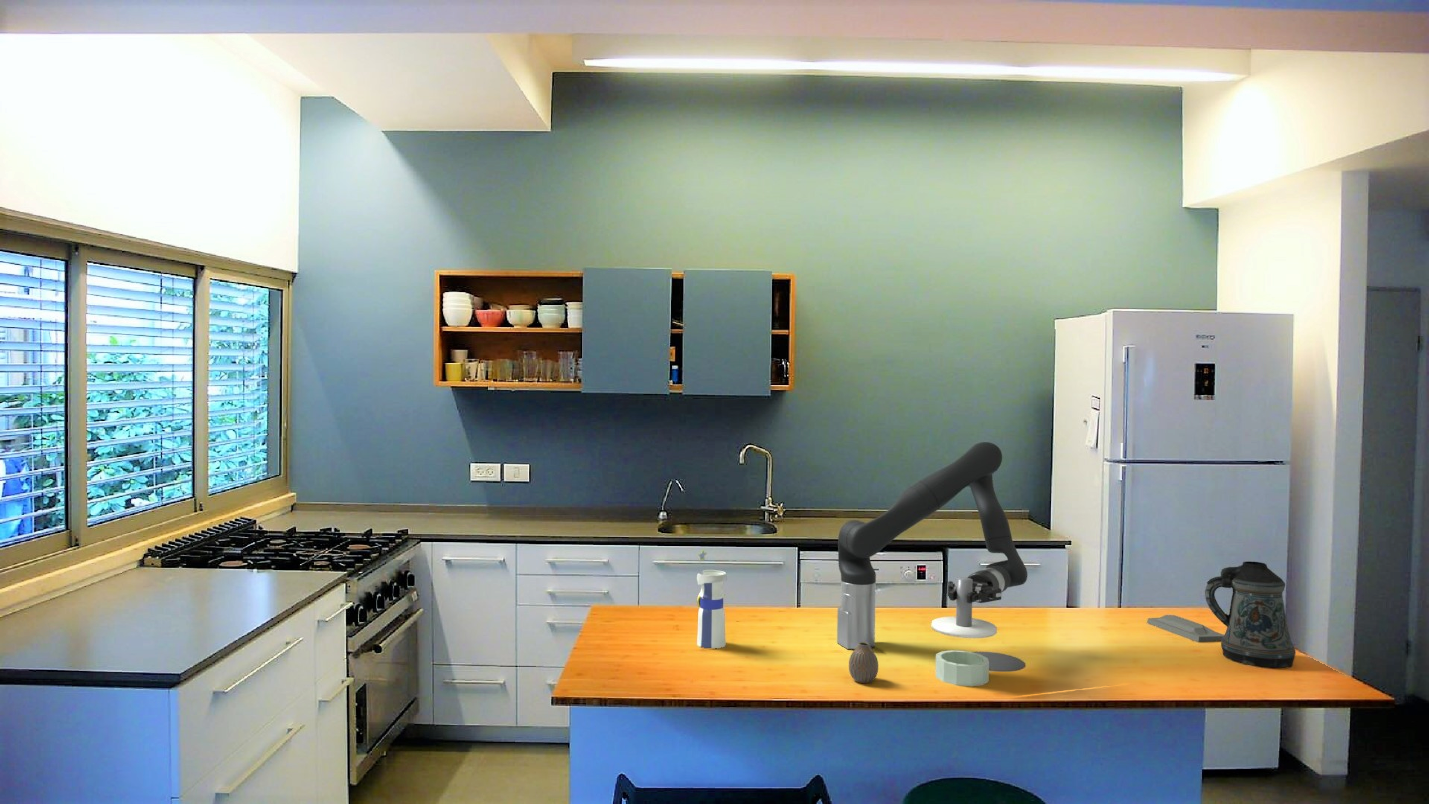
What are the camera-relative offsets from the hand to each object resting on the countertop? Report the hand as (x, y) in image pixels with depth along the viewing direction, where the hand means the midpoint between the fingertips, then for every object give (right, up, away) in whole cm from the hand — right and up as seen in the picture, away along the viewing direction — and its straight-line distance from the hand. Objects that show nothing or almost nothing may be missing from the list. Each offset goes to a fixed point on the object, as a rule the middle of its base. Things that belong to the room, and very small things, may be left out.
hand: (960, 597), depth 205 cm
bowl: (+1, -20, +2) cm, 20 cm away
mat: (+12, -20, +15) cm, 28 cm away
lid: (+2, -8, +2) cm, 9 cm away
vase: (-23, -20, 0) cm, 30 cm away
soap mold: (+79, -21, +46) cm, 94 cm away
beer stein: (+82, -21, +21) cm, 87 cm away
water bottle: (-59, -19, +27) cm, 68 cm away
